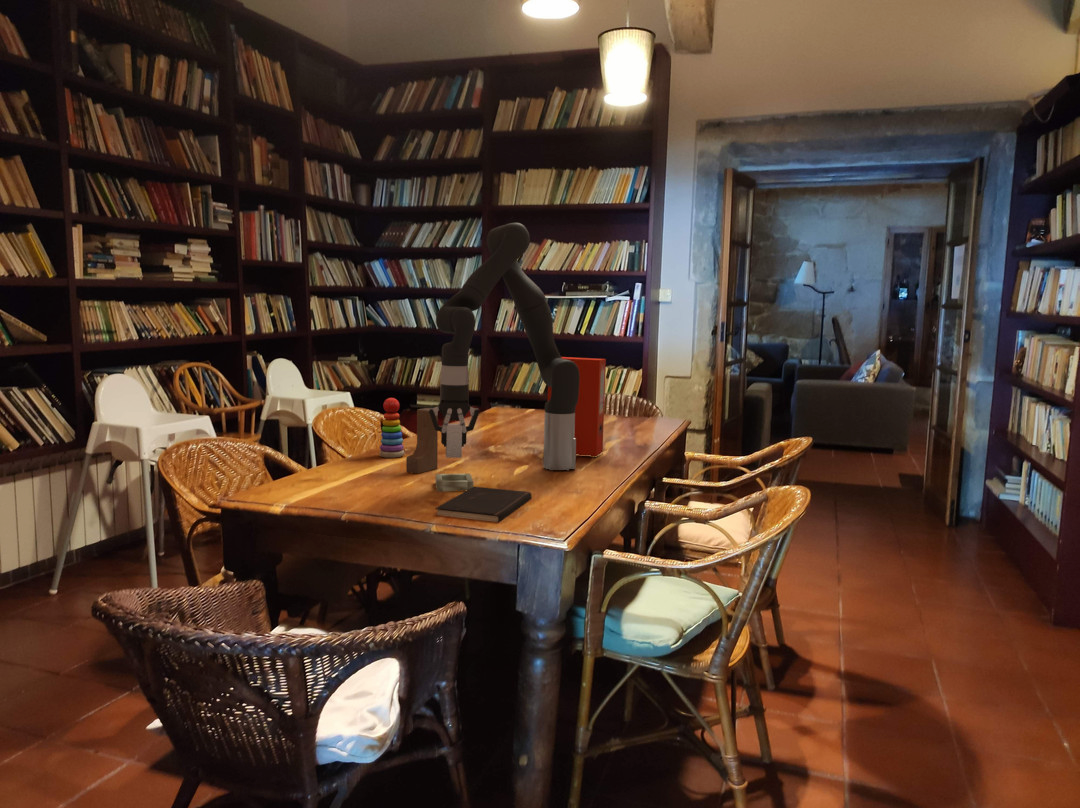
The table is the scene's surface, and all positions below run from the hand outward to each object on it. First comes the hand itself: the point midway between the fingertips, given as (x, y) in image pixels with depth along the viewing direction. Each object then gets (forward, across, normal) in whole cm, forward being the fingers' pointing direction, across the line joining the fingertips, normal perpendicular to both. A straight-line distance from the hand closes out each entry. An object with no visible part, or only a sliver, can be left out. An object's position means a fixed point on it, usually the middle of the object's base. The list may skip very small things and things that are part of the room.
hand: (453, 445), depth 204 cm
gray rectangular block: (+3, 0, 0) cm, 3 cm away
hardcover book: (+12, -7, +21) cm, 25 cm away
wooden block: (+11, +8, -21) cm, 25 cm away
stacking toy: (+11, +17, -43) cm, 47 cm away
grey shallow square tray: (+11, 0, 0) cm, 11 cm away
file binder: (+11, -43, -43) cm, 62 cm away
